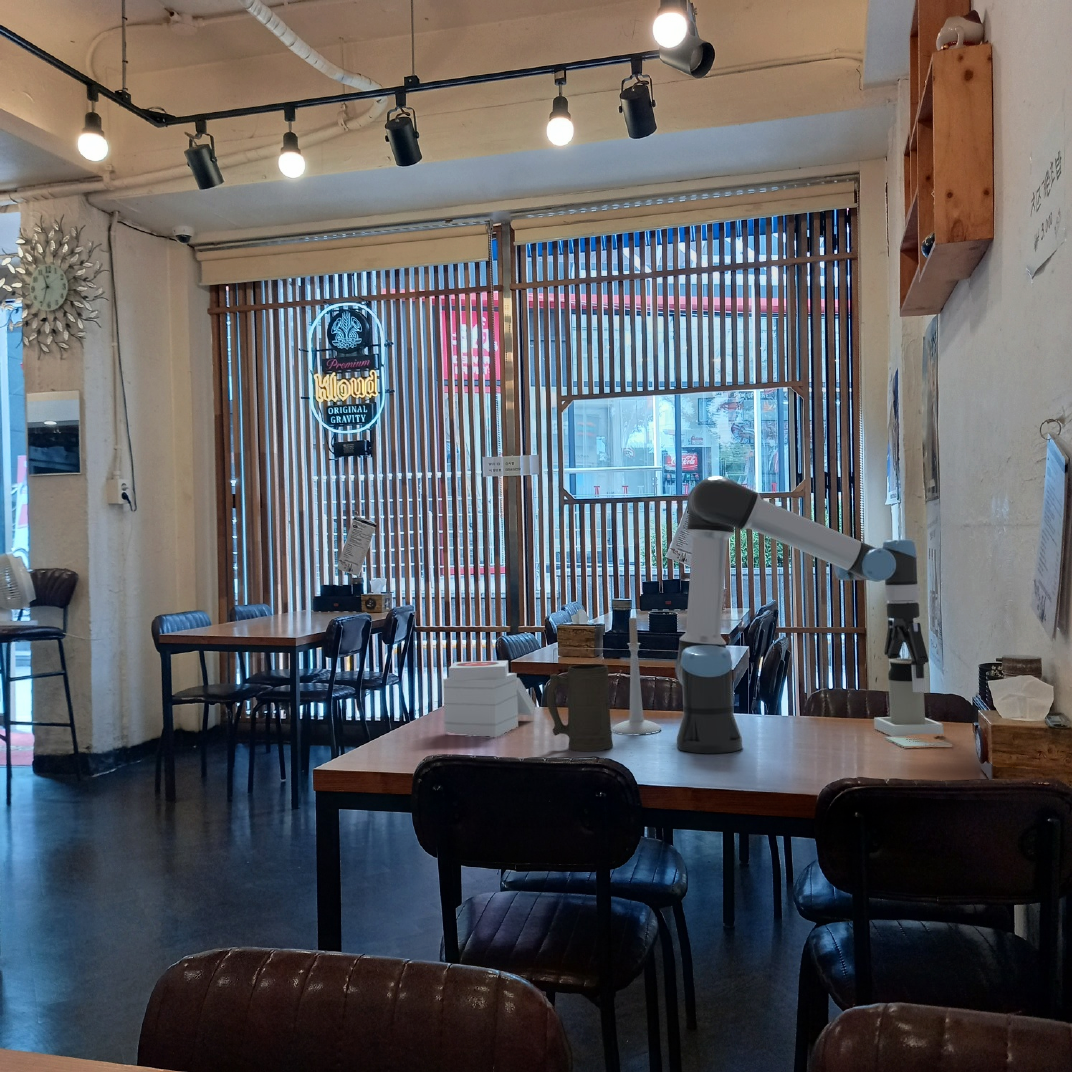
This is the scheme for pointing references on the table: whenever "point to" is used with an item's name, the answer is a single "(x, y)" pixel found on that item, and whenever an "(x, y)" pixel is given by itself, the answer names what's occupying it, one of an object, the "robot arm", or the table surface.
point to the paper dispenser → (484, 699)
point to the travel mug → (904, 695)
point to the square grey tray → (907, 727)
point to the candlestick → (635, 693)
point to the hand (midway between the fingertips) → (907, 688)
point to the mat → (906, 743)
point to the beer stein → (583, 707)
